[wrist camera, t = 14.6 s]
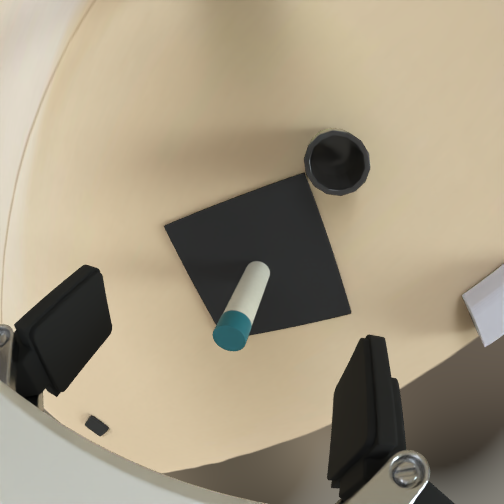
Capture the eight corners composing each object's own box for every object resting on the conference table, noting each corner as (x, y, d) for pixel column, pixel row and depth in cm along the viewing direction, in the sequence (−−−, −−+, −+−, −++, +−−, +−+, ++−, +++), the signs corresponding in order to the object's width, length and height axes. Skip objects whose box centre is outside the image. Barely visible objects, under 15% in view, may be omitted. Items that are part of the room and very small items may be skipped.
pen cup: (300, 137, 32) (294, 143, 25) (349, 121, 30) (357, 122, 23) (318, 184, 34) (317, 203, 27) (366, 169, 32) (378, 184, 25)
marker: (241, 264, 40) (206, 328, 28) (264, 257, 39) (237, 322, 27) (251, 285, 41) (221, 353, 29) (274, 279, 40) (251, 348, 28)
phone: (84, 424, 84) (90, 416, 77) (85, 423, 85) (91, 414, 77) (100, 436, 85) (108, 429, 77) (101, 435, 85) (109, 427, 78)
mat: (165, 225, 41) (163, 226, 40) (304, 172, 34) (304, 173, 33) (225, 338, 47) (224, 339, 47) (351, 311, 40) (351, 313, 40)
